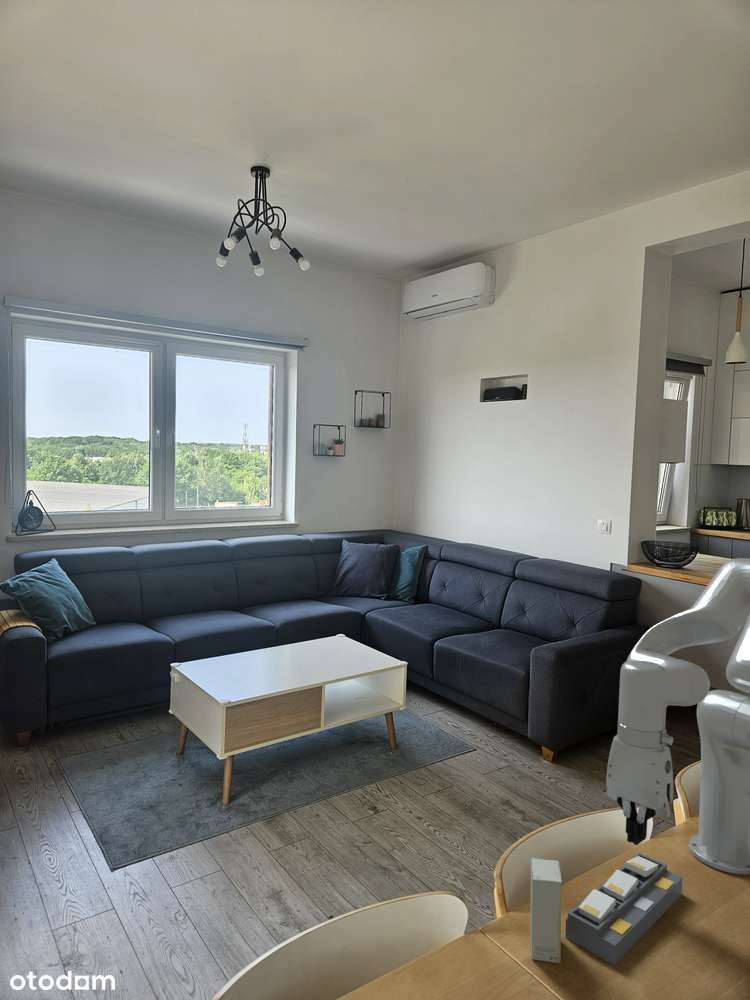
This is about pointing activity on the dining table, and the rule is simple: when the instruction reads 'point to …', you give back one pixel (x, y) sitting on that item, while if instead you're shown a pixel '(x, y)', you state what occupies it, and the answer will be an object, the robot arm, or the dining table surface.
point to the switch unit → (626, 914)
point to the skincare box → (545, 910)
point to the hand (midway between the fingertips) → (635, 840)
